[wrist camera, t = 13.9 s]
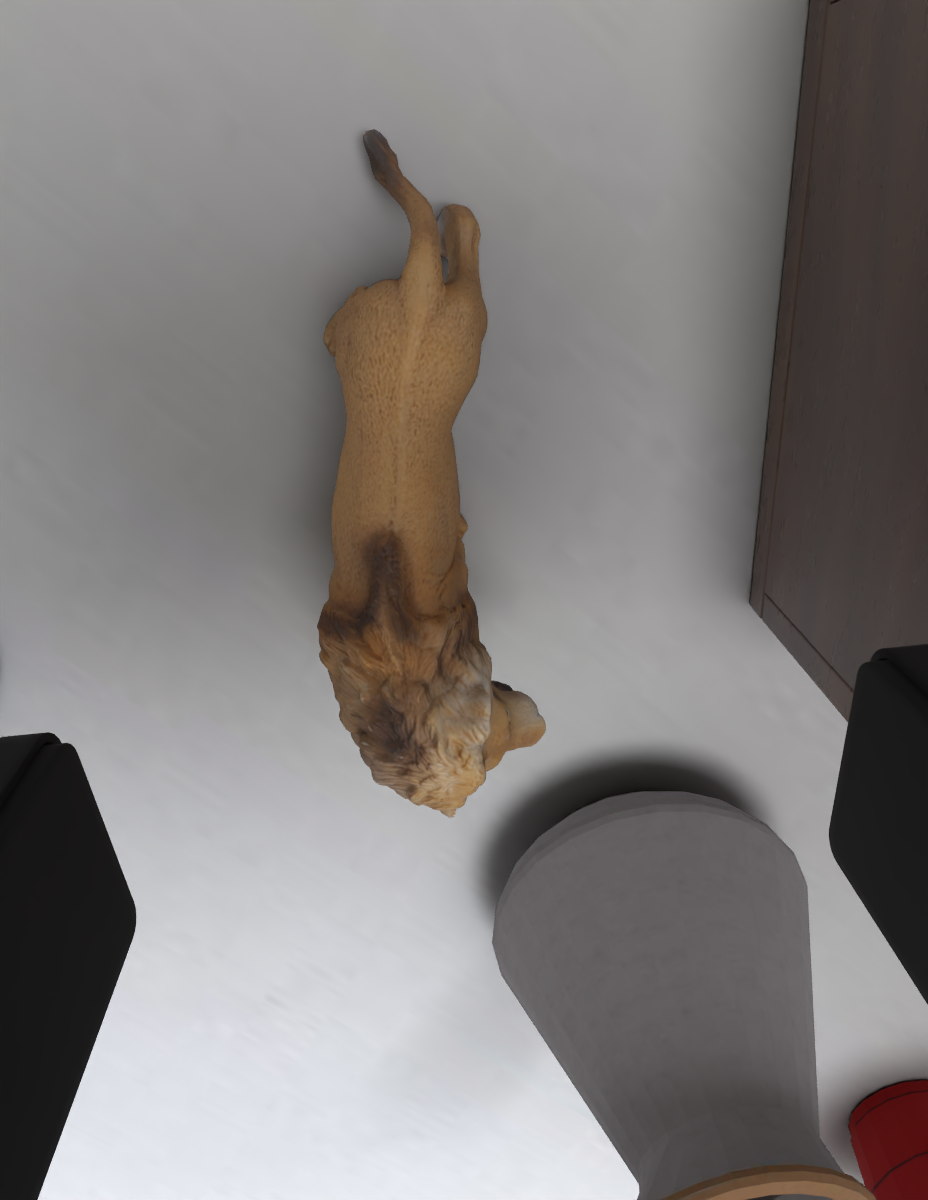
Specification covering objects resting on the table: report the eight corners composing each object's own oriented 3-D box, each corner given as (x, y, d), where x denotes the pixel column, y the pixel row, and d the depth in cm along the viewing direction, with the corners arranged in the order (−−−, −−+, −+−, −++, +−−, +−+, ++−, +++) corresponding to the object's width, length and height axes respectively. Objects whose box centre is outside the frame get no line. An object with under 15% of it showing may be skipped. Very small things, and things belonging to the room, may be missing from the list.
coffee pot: (575, 708, 28) (733, 1188, 14) (832, 805, 31) (1162, 1278, 17) (345, 1067, 36) (310, 1583, 23) (565, 1116, 39) (649, 1599, 26)
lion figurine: (515, 636, 26) (565, 832, 18) (355, 656, 26) (334, 861, 18) (473, 120, 19) (522, 71, 11) (256, 144, 19) (153, 113, 11)
